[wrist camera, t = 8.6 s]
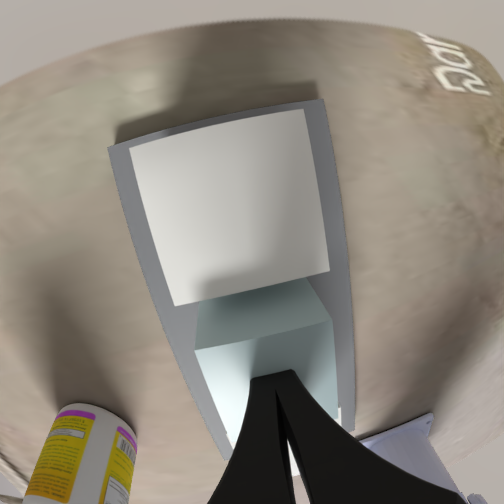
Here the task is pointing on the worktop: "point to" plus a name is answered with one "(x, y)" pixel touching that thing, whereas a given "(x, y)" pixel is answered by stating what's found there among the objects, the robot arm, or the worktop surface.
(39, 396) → the worktop surface
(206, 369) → the block
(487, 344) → the worktop surface
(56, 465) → the supplement bottle
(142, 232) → the board
